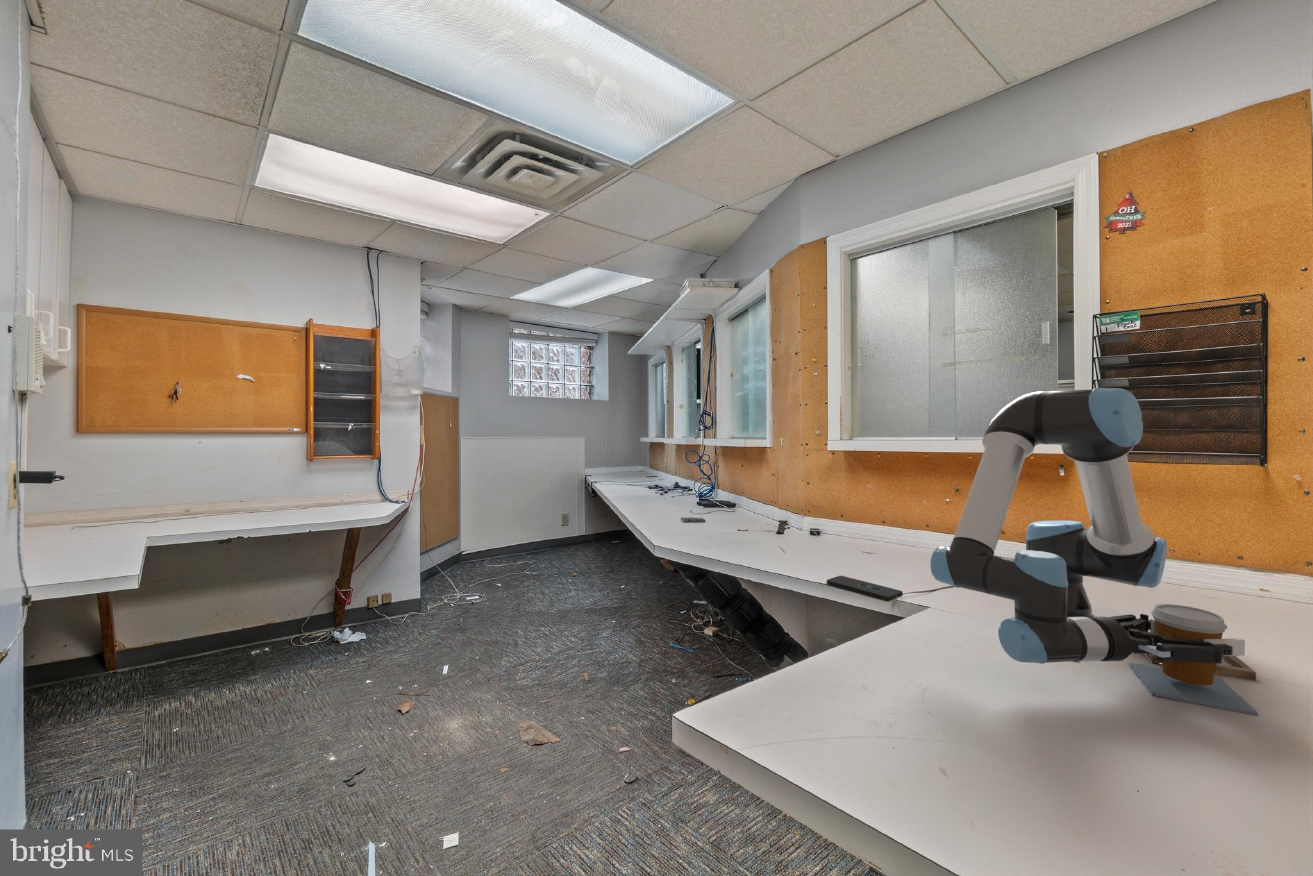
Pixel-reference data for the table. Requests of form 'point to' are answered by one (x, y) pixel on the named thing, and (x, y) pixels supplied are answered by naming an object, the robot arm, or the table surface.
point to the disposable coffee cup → (1190, 627)
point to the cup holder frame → (1225, 667)
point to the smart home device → (865, 588)
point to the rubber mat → (1192, 690)
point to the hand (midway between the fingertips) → (1212, 636)
